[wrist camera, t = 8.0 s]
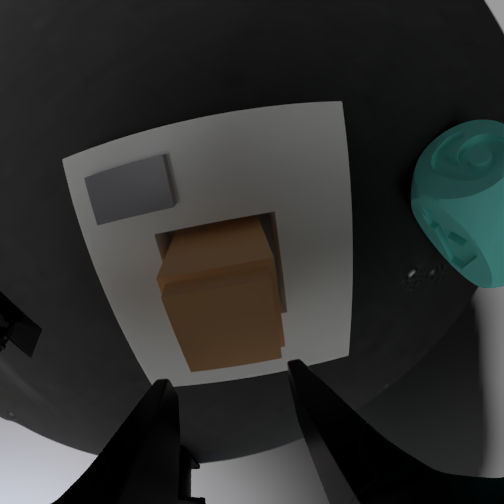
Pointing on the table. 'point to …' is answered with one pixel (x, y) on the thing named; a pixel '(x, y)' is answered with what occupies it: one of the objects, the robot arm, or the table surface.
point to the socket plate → (219, 209)
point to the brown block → (222, 294)
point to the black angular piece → (17, 327)
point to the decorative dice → (464, 199)
